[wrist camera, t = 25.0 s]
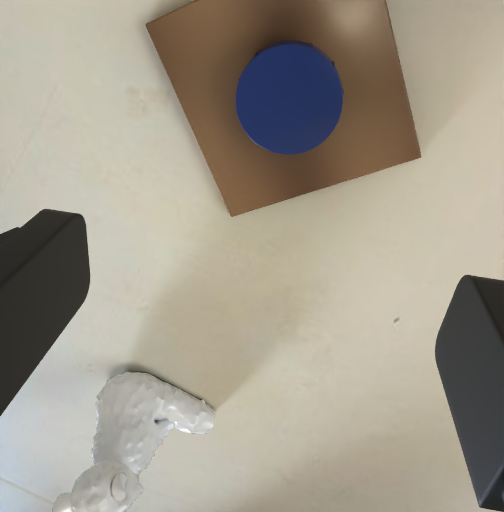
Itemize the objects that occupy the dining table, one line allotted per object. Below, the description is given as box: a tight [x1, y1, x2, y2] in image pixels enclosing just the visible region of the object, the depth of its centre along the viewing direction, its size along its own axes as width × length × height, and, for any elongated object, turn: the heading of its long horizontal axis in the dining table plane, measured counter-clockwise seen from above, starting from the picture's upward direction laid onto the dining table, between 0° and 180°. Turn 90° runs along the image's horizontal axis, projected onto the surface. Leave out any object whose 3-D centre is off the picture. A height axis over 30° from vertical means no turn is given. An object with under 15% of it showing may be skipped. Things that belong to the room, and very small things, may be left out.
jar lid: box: [235, 39, 344, 155], centre depth 25 cm, size 6×6×2 cm
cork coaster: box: [146, 0, 421, 217], centre depth 26 cm, size 12×12×1 cm
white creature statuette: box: [52, 372, 216, 512], centre depth 36 cm, size 10×9×12 cm
